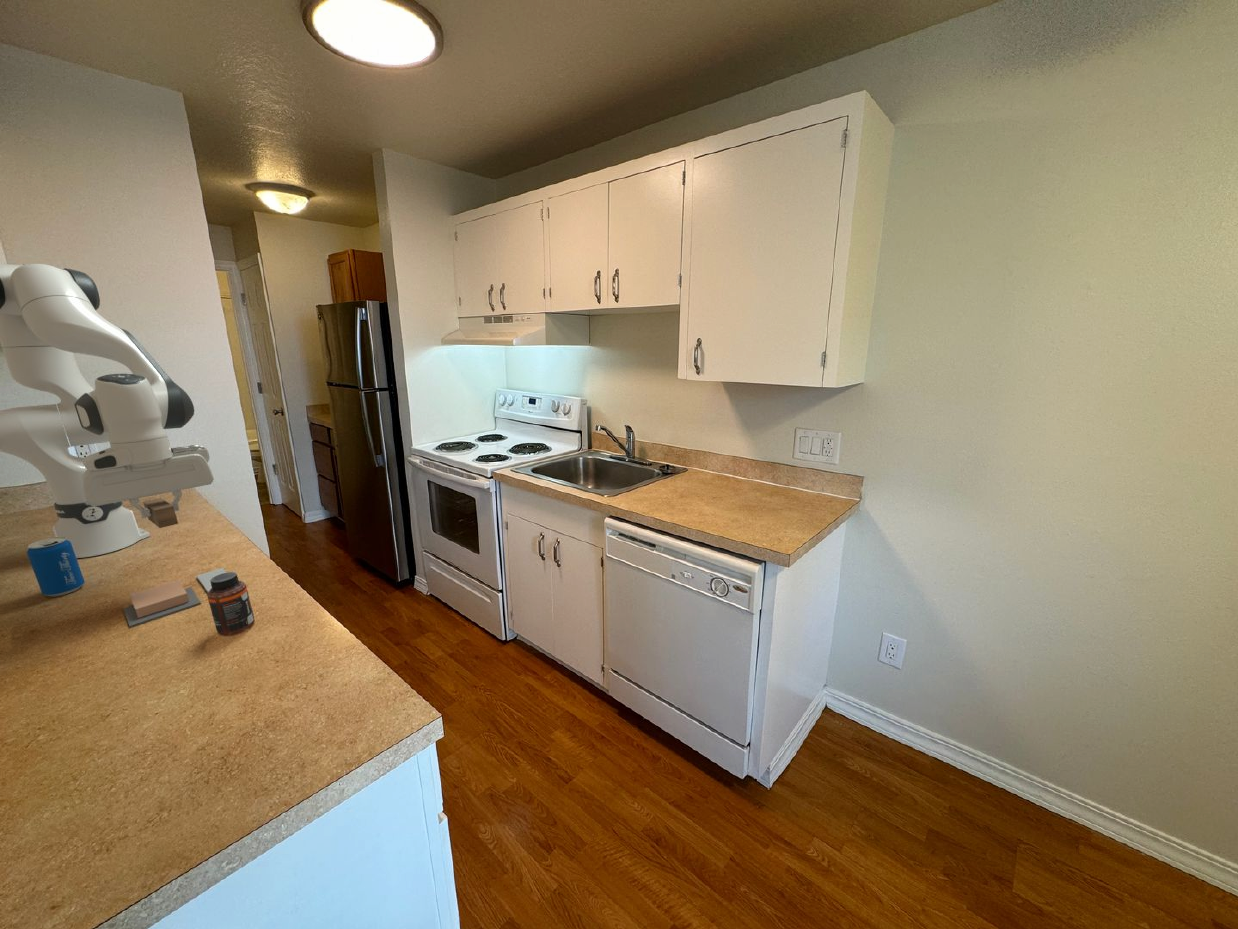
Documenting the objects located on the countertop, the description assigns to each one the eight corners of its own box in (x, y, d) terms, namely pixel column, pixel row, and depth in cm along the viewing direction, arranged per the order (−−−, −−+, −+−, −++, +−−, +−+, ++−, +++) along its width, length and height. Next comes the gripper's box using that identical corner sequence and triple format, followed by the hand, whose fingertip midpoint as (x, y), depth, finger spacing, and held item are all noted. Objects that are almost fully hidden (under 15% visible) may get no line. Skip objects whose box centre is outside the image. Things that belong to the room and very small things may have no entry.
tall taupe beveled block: (148, 518, 108) (143, 501, 107) (165, 514, 110) (161, 498, 109) (159, 528, 102) (154, 510, 101) (178, 523, 104) (173, 506, 103)
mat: (123, 609, 102) (122, 608, 102) (191, 588, 110) (190, 587, 110) (130, 627, 96) (129, 626, 96) (201, 604, 104) (200, 602, 104)
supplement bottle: (262, 622, 97) (250, 571, 94) (231, 640, 92) (217, 587, 89) (242, 617, 99) (229, 567, 96) (210, 634, 94) (195, 581, 90)
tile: (129, 594, 103) (135, 609, 97) (178, 579, 109) (186, 593, 103) (132, 603, 104) (138, 618, 98) (181, 588, 109) (189, 602, 104)
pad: (197, 577, 115) (196, 575, 115) (223, 570, 118) (222, 567, 118) (209, 595, 107) (208, 592, 107) (236, 586, 111) (236, 583, 111)
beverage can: (57, 599, 106) (38, 549, 103) (35, 596, 107) (16, 547, 104) (93, 584, 112) (77, 537, 109) (72, 582, 113) (55, 535, 110)
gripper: (202, 441, 112) (217, 498, 115) (72, 459, 97) (93, 524, 101) (208, 445, 108) (223, 503, 111) (73, 464, 93) (95, 531, 96)
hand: (160, 513), depth 106 cm, fingers closed on tall taupe beveled block, 3 cm apart
